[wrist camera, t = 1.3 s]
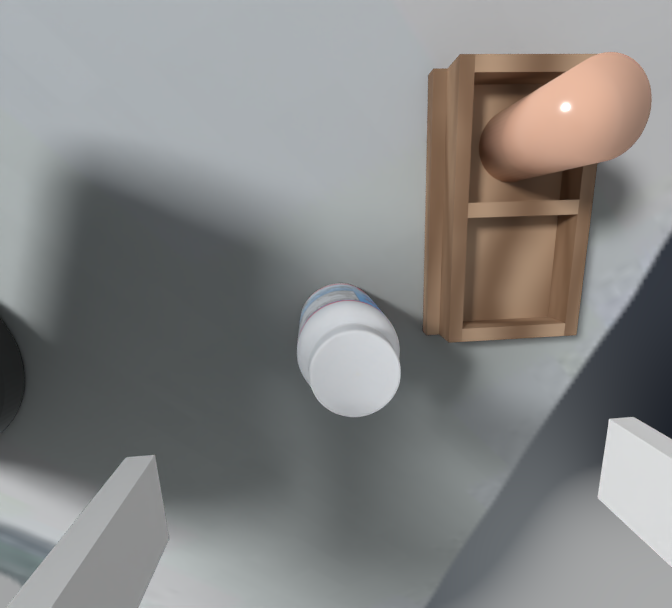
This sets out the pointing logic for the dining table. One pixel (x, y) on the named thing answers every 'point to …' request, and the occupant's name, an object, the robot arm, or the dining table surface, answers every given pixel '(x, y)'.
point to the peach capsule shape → (569, 120)
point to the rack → (498, 212)
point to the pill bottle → (348, 351)
